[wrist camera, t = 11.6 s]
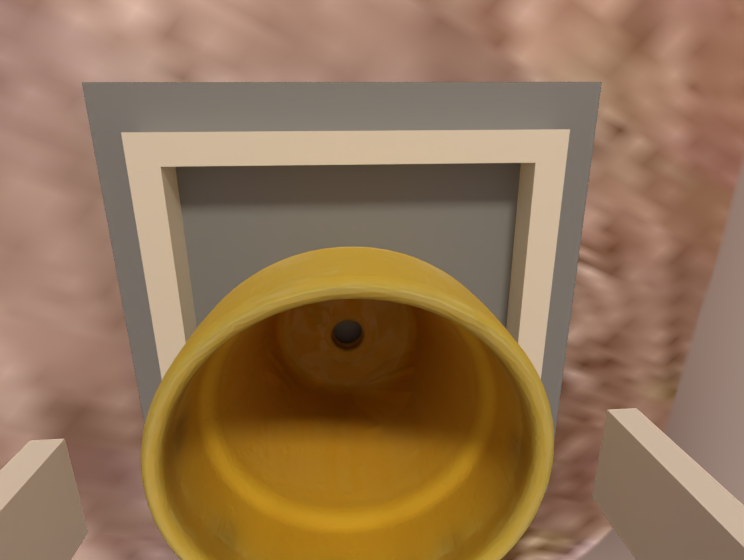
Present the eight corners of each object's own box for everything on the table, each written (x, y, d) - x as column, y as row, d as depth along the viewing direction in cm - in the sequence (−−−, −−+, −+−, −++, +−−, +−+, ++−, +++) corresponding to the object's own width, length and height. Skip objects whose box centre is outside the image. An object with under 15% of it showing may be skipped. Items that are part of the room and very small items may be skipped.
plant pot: (453, 420, 22) (532, 623, 13) (240, 424, 22) (161, 640, 12) (471, 209, 19) (590, 277, 10) (223, 207, 19) (99, 277, 9)
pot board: (168, 496, 24) (148, 536, 21) (95, 85, 18) (57, 77, 15) (539, 478, 25) (560, 514, 23) (588, 84, 19) (624, 77, 17)
